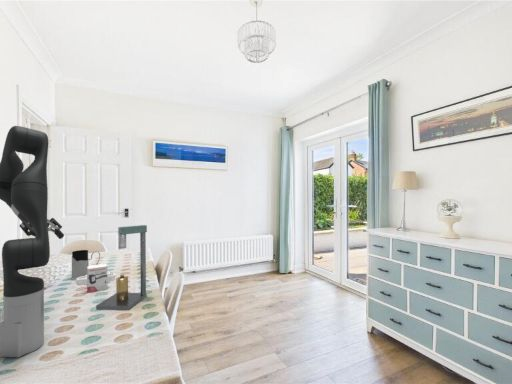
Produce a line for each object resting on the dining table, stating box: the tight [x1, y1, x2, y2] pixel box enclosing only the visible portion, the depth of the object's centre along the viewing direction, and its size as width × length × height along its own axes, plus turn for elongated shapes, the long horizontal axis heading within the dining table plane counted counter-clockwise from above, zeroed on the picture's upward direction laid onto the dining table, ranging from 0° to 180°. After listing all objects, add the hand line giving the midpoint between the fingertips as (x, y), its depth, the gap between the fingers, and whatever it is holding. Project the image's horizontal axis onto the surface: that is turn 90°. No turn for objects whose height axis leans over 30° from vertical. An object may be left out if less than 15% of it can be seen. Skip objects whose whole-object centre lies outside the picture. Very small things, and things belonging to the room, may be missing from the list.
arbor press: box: [95, 224, 148, 311], centre depth 112 cm, size 15×15×32 cm
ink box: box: [86, 263, 109, 294], centre depth 127 cm, size 8×5×12 cm, turn 123°
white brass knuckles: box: [75, 271, 116, 286], centre depth 141 cm, size 3×18×15 cm
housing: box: [115, 274, 129, 301], centre depth 112 cm, size 4×4×10 cm
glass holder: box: [70, 249, 101, 281], centre depth 148 cm, size 9×14×15 cm, turn 132°
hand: (53, 239), depth 106 cm, fingers open, 8 cm apart
